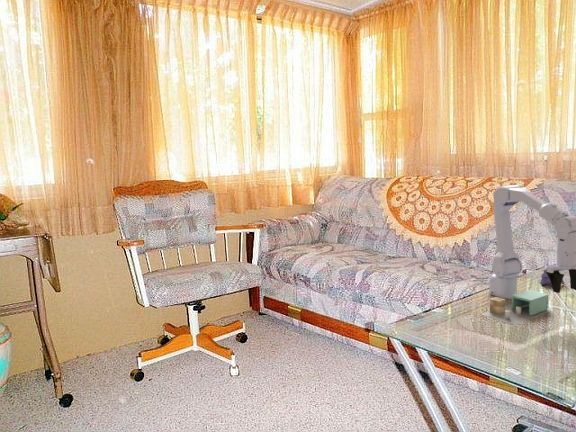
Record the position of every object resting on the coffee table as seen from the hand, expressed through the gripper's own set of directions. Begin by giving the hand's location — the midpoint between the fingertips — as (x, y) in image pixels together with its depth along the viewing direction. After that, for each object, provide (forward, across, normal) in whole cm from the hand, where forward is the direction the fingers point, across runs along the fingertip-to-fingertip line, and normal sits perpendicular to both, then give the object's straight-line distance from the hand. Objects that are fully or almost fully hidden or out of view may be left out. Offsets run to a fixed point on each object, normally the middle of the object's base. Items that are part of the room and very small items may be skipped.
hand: (565, 290), depth 158 cm
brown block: (+9, -18, +11) cm, 23 cm away
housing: (+8, -7, +8) cm, 13 cm away
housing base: (+10, -13, +8) cm, 18 cm away
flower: (+10, +27, +31) cm, 42 cm away
